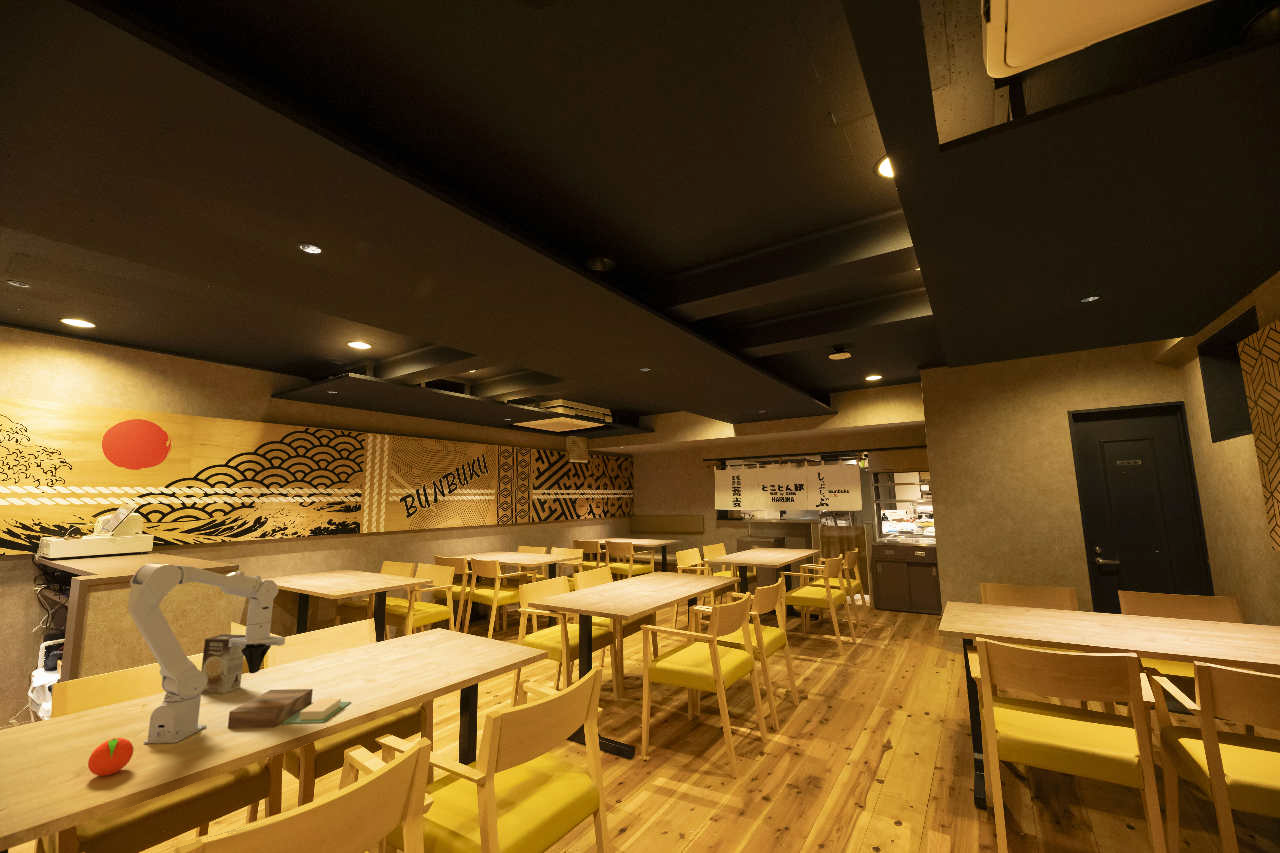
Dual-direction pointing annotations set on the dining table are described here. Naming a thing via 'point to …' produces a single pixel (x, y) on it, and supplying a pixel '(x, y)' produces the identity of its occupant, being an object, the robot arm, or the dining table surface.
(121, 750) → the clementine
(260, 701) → the brown wooden block
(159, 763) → the dining table surface
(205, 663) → the coffee box
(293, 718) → the mat
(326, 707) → the tile
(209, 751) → the dining table surface
